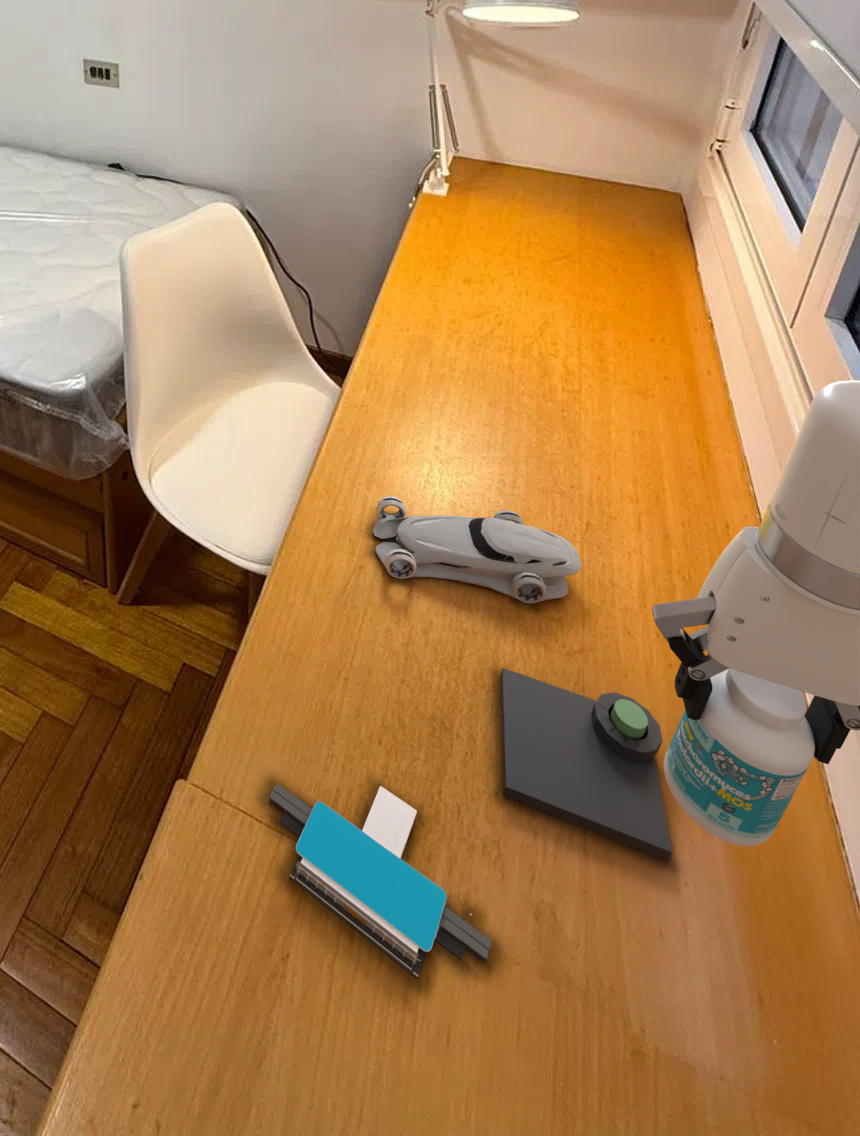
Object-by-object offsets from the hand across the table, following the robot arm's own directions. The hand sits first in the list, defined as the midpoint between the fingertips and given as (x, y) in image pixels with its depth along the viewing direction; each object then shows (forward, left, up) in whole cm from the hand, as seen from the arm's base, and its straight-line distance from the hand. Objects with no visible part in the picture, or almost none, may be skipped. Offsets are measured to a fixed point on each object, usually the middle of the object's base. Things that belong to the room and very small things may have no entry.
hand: (750, 721), depth 64 cm
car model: (+16, -33, -25) cm, 45 cm away
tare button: (+1, -15, -23) cm, 27 cm away
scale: (+6, -11, -25) cm, 28 cm away
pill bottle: (0, 0, -10) cm, 10 cm away
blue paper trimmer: (+24, +6, -25) cm, 35 cm away
